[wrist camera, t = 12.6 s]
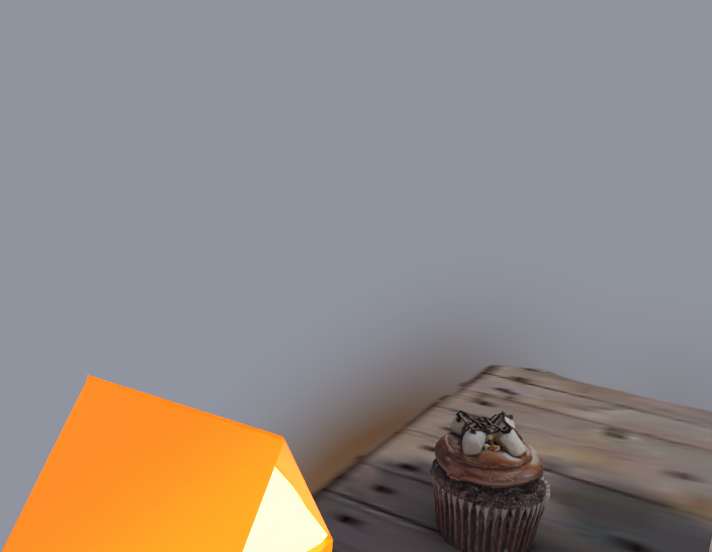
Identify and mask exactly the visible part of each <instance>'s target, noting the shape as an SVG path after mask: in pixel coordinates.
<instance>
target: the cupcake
mask: <svg viewBox="0 0 712 552" xmlns="http://www.w3.org/2000/svg"><path fill="white" fill-rule="evenodd" d="M456 415H457V417H456V418H454V419H453V421H452V424H451V429H452V431H451V432H449V433H447V434H446V435H444V436H443V437H442V438H441V439H440V440H439V441H438V442H437V443H436V446H435V450H434V451H435V456H436V459H435V460H434V461H433V464H432V467H431V470H430V472H431V474H432V482H433V491H434V497H435V511H436V521H437V524H438V527H439V529H440V533H441V535H442V536H443V538H444V539H445V540H446V542H448V543H449V544H451V545H453V546H454V547H455V548H457V549H458V550H460V551H463V552H527V551H528V550H529V549H530V547H531V545H532V542H533V540H534V537H535V534H536V531H537V528H538V525H539V522H540V520H541V517H542V514H543V512H544V509H545V507H546V504H547V502H548V499H549V497H550V490H551V489H549V486H550V485H549V484H547V480H544V476H542V474H543V465H542V461H541V458H540V456H539V455H538V453H537V452H536V451H535V449H534V448H533V447H531V446H530V445H529V444H527V443H525V442H523V441H522V438H521V436H520V434H519V433H518V432H517V431H516V430H515V425H514V422H513V421H512V420H511V419H513V415H507V414H505V412H504V411H502V413H500V414H496V415H494V416H493V417H491V418H490V419H489V418H488V417H483V416H482V417H478V419H477V418H475V417H473V416H471V415H469V414H467V413H466V412H463V411H459V412H458V413H457V414H456Z"/></svg>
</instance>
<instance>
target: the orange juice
mask: <svg viewBox="0 0 712 552" xmlns="http://www.w3.org/2000/svg"><path fill="white" fill-rule="evenodd" d="M87 377H88V379H87V381H86V383H85V385H84V388H83V390H82V391H81V394H80V395H79V398H78V400H77V402H76V404H75V406H74V408H73V410H72V412H71V414H70V416H69V418H68V420H67V422H66V424H65V426H64V428H63V430H62V432H61V434H60V436H59V438H58V440H57V442H56V444H55V446H54V448H53V450H52V452H51V454H50V456H49V458H48V460H47V462H46V464H45V466H44V468H43V470H42V472H41V474H40V476H39V478H38V480H37V482H36V484H35V486H34V488H33V490H32V492H31V494H30V496H29V498H28V500H27V502H26V504H25V506H24V508H23V510H22V512H21V514H20V516H19V518H18V520H17V522H16V524H15V526H14V528H13V530H12V532H11V534H10V536H9V538H8V540H7V542H6V544H5V546H4V548H3V550H2V552H332V543H333V542H334V541H333V539H332V537H331V535H330V533H329V531H328V529H327V527H326V525H325V523H324V520H323V518H322V516H321V514H320V512H319V510H318V508H317V506H316V504H315V502H314V500H313V498H312V496H311V493H310V491H309V489H308V487H307V486H306V483H305V481H304V479H303V477H302V475H301V473H300V471H299V469H298V466H297V465H296V462H295V460H294V458H293V456H292V454H291V452H290V450H289V448H288V446H287V444H286V441H285V440H284V437H282V436H279V435H276V434H273V433H270V432H267V431H263V430H260V429H257V428H254V427H251V426H247V425H244V424H241V423H237V422H235V421H232V420H228V419H225V418H221V417H219V416H216V415H212V414H209V413H206V412H203V411H199V410H197V409H193V408H190V407H187V406H184V405H181V404H177V403H174V402H171V401H168V400H165V399H162V398H158V397H155V396H152V395H149V394H146V393H142V392H139V391H136V390H133V389H129V388H127V387H123V386H120V385H117V384H114V383H110V382H107V381H104V380H101V379H98V378H95V377H92V376H88V375H87Z"/></svg>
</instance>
